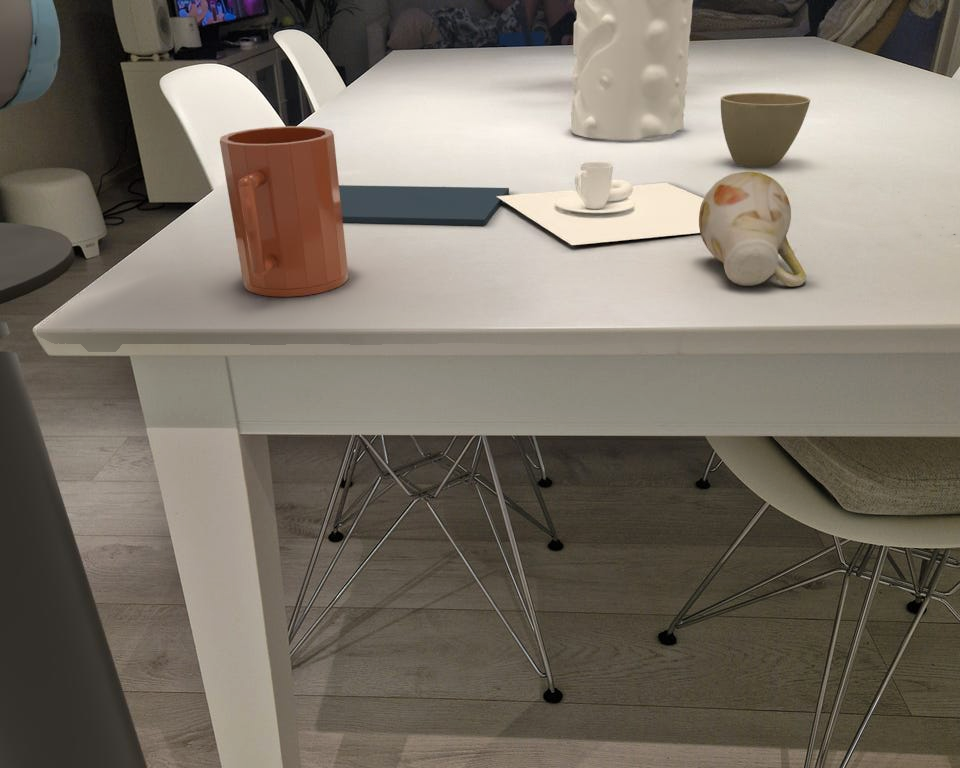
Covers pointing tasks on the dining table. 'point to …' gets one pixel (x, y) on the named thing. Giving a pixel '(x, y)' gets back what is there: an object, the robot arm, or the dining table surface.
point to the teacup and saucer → (611, 208)
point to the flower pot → (761, 126)
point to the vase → (630, 68)
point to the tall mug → (286, 209)
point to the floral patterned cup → (749, 229)
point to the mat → (419, 204)
